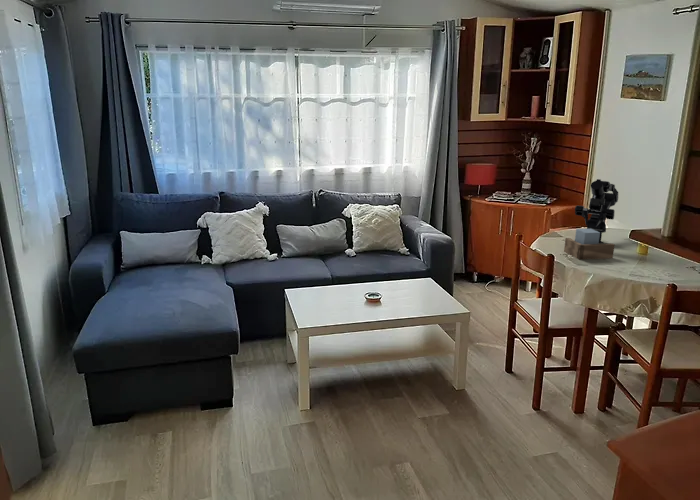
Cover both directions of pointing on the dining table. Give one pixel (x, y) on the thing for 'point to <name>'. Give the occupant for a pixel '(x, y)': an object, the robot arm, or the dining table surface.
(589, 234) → the slate block
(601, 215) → the robot arm
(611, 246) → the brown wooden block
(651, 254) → the dining table surface
